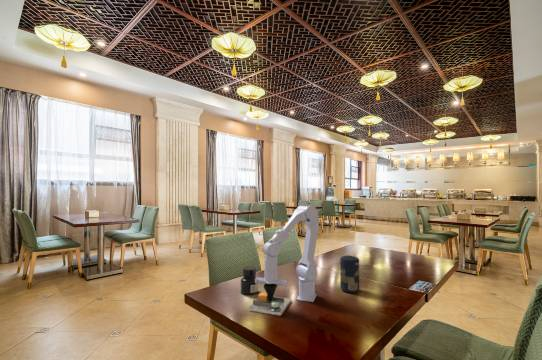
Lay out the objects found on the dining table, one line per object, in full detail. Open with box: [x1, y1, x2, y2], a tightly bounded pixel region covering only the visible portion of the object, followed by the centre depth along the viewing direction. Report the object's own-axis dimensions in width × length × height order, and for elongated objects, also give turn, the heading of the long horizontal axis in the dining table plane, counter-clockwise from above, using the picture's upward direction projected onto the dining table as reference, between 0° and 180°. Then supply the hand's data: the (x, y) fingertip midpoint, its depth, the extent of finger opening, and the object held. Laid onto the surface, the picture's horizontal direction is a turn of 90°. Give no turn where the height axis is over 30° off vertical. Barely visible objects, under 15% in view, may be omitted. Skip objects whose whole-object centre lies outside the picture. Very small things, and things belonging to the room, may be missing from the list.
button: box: [271, 302, 279, 308], centre depth 112 cm, size 3×3×1 cm
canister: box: [339, 254, 360, 294], centre depth 139 cm, size 10×10×18 cm
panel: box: [249, 296, 292, 317], centre depth 119 cm, size 16×14×3 cm
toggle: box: [257, 291, 269, 302], centre depth 120 cm, size 4×4×3 cm
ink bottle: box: [240, 266, 259, 296], centre depth 136 cm, size 10×9×12 cm
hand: (270, 300), depth 119 cm, fingers closed
